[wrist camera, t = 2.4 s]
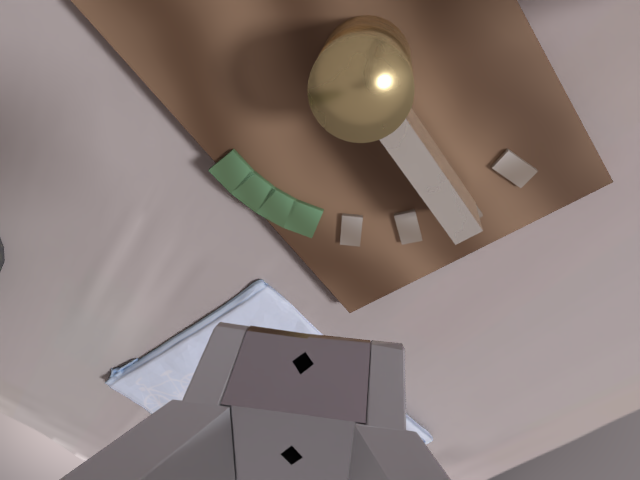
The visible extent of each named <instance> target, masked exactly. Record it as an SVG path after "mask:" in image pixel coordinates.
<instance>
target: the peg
mask: <svg viewBox="0 0 640 480" xmlns="http://www.w3.org/2000/svg"><path fill="white" fill-rule="evenodd" d="M414 89H415V87H414V77H413V68H412V59H411V51H410V47H409V44H408V42H407V40H406V38H405V36H404V35H403V33H402V32H401V31H400V30H399V29H398V28H397V27H396V26H395V25H394V24H393V23H391V22H390V21H388V20H386V19H384V18H381V17H377V16H371V15H363V16H357V17H354V18H351V19H349V20H347V21H345V22H343V23H342V24H340V25H339V26H338V27H337V28H336V29H334V31H333V32H332V33H331V34H330V36H329V37H328V39H327V41H326V43H325V45H324V46H323V48H322V50H321V52H320V54H319V56H318V58H317V59H316V61H315V63H314V65H313V67H312V69H311V72H310V75H309V80H308V89H307V92H308V100H309V105H310V108H311V110H312V112H313V114H314V116H315V118H316V120H317V121H318V122H319V124H320V125H321V126H322V127H323V128H324V129H325V130H326V131H327V132H329V133H330V134H332V135H333V136H335V137H337V138H339V139H342V140H344V141H348V142H353V143H368V142H373V141H377V140H380V141H381V143H382V144H383V146H384V147H385V148H386V150H387V151H388V152H389V154H390V155H391V157H392V158H393V159H394V161H395V162H396V163H397V165H398V166H399V168H400V169H401V170H402V172H403V173H404V175H405V176H406V177H407V179H408V180H409V181H410V183H411V184H412V186H413V187H414V188H415V190H416V191H417V192H418V194H419V195H420V197H421V198H422V199H423V201H424V202H425V203H426V205H427V206H428V208H429V209H430V210H431V212H432V213H433V215H434V216H435V217H436V219H437V220H438V221H439V223H440V224H441V226H442V227H443V228H444V230H445V231H446V232H447V234H448V235H449V237H450V238H451V239H452V241H453V242H454V244H455V245H456V244H458V243H460V242H462V241H464V240H466V239H468V238H470V237H472V236H474V235H476V234H478V233H480V232H482V231H483V229H482V225H481V221H480V218H479V214H478V210H477V207H476V203H475V201H474V199H473V198H472V196H471V195H470V193H469V192H468V191H467V189H466V188H465V186H464V185H463V183H462V182H461V180H460V179H459V177H458V176H457V174H456V173H455V171H454V170H453V168H452V167H451V165H450V164H449V162H448V161H447V159H446V158H445V156H444V155H443V153H442V152H441V151H440V149H439V148H438V146H437V145H436V143H435V142H434V140H433V139H432V137H431V136H430V134H429V133H428V131H427V130H426V128H425V127H424V125H423V124H422V122H421V121H420V119H419V118H418V116H417V115H416V114H415V112H414V111H413V109H412V108H411V107H412V104H413V100H414Z"/></svg>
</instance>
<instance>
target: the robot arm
mask: <svg viewBox="0 0 640 480" xmlns="http://www.w3.org/2000/svg"><path fill="white" fill-rule="evenodd" d="M60 480H451V479H450V478H449V477H448V475H447V474H446V472H445V471H444V470H443V468H442V467H441V465H440V464H439V463H438V461H437V460H436V458H435V457H434V456H433V454H432V453H431V451H430V450H429V449H428V447H427V446H426V444H425V443H424V442H423V440H422V439H421V437H420V436H419V435H418V433H417V432H414V431H408V430H406V395H405V349H404V346H403V344H402V343H392V342H383V341H373V340H372V341H371V343H370V340H362V339H353V338H343V337H334V336H325V335H316V334H306V333H299V332H292V331H285V330H278V329H271V328H264V327H257V326H244V325H238V324H231V323H225V322H219V323H218V325H217V326H216V327H215V328H214V329H213V332H212V334H211V336H210V338H209V341H208V343H207V345H206V347H205V350H204V352H203V354H202V356H201V359H200V361H199V363H198V366H197V368H196V370H195V372H194V375H193V377H192V379H191V381H190V384H189V386H188V388H187V391H186V393H185V395H184V397H183V400H171V401H170V402H168V403H167V404H165V405H164V406H163V407H161V408H160V409H158V410H157V411H156V412H154V413H153V414H151V415H150V416H149V417H147V418H146V419H144V420H143V421H141V422H140V423H139V424H137V425H136V426H134V427H133V428H132V429H130V430H129V431H127V432H126V433H125V434H123V435H122V436H120V437H119V438H118V439H116V440H115V441H113V442H112V443H110V444H109V445H108V446H106V447H105V448H103V449H102V450H101V451H99V452H98V453H96V454H95V455H94V456H92V457H91V458H89V459H88V460H87V461H85V462H84V463H82V464H81V465H79V466H78V467H77V468H75V469H74V470H72V471H71V472H70V473H68V474H67V475H65V476H64V477H63V478H61V479H60Z"/></svg>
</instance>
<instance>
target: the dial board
mask: <svg viewBox="0 0 640 480" xmlns="http://www.w3.org/2000/svg"><path fill="white" fill-rule="evenodd" d="M71 1H72V2H73V4H74V5H75V6H76V7H77V8H78V9H79V10H80V11H81V12H82V14H83V15H84V16H85V17H86V18H87V19H88V20H89V21H90V23H91V24H92V25H93V26H94V27H95V28H96V29H97V30H98V32H99V33H100V34H101V35H102V36H103V37H104V38H105V39H106V40H107V42H108V43H109V44H110V45H111V46H112V47H113V48H114V49H115V51H116V52H117V53H118V54H119V55H120V56H121V57H122V58H123V60H124V61H125V62H126V63H127V64H128V65H129V66H130V67H131V68H132V70H133V71H134V72H135V73H136V74H137V75H138V76H139V77H140V79H141V80H142V81H143V82H144V83H145V84H146V85H147V86H148V88H149V89H150V90H151V91H152V92H153V93H154V94H155V95H156V97H157V98H158V99H159V100H160V101H161V102H162V103H163V104H164V105H165V107H166V108H167V109H168V110H169V111H170V112H171V113H172V114H173V116H174V117H175V118H176V119H177V120H178V121H179V122H180V123H181V125H182V126H183V127H184V128H185V129H186V130H187V131H188V132H189V133H190V135H191V136H192V137H193V138H194V139H195V140H196V141H197V142H198V144H199V145H200V146H201V147H202V148H203V149H204V150H205V151H206V153H207V154H208V155H209V156H210V157H211V158H212V159H213V160H214V161H215V163H216V164H215V165H213V166H212V167H211V168H210V169H209V170H208V171H209V172H210V173H211V174H212V175H213V176H214V177H215V178H216V179H217V180H218V181H219V182H220V183H221V184H222V185H223V186H224V187H225V188H226V189H227V190H228V191H229V192H230V193H231V194H232V195H233V196H235V197H236V198H237V199H238V200H240V201H241V202H242V203H244V204H245V205H246V206H248V207H249V208H250V209H252V210H253V211H254V212H257V214H259V215H261V216H262V217H264V218H265V219H266V220H267V221H268V222H269V223H270V224H271V225H272V226H273V228H274V229H275V230H276V231H277V232H278V233H279V234H280V235H281V237H282V238H283V239H284V240H285V241H286V242H287V243H288V244H289V246H290V247H291V248H292V249H293V250H294V251H295V252H296V253H297V254H298V256H299V257H300V258H301V259H302V260H303V261H304V262H305V263H306V265H307V266H308V267H309V268H310V269H311V270H312V271H313V272H314V274H315V275H316V276H317V277H318V278H319V279H320V280H321V281H322V283H323V284H324V285H325V286H326V287H327V288H328V289H329V290H330V291H331V293H332V294H333V295H334V296H335V297H336V298H337V299H338V300H339V302H340V303H341V304H342V305H343V306H344V307H345V308H346V309H347V311H348V312H349V313H351V312H353V311H355V310H357V309H359V308H361V307H363V306H365V305H367V304H369V303H371V302H373V301H375V300H377V299H379V298H381V297H383V296H385V295H387V294H389V293H391V292H393V291H395V290H397V289H399V288H401V287H403V286H405V285H407V284H409V283H411V282H413V281H415V280H418V279H420V278H422V277H424V276H426V275H428V274H430V273H432V272H434V271H436V270H438V269H440V268H442V267H444V266H446V265H448V264H450V263H452V262H454V261H456V260H458V259H460V258H462V257H464V256H466V255H468V254H470V253H472V252H474V251H476V250H478V249H480V248H482V247H484V246H486V245H488V244H490V243H492V242H494V241H496V240H498V239H500V238H502V237H504V236H506V235H508V234H510V233H512V232H514V231H516V230H518V229H520V228H522V227H524V226H526V225H528V224H530V223H532V222H534V221H536V220H538V219H540V218H542V217H544V216H546V215H548V214H550V213H552V212H554V211H556V210H558V209H560V208H562V207H564V206H566V205H568V204H570V203H572V202H574V201H576V200H578V199H580V198H582V197H584V196H586V195H588V194H590V193H592V192H594V191H596V190H598V189H600V188H602V187H604V186H606V185H608V184H610V183H612V182H613V180H612V179H611V177H610V175H609V173H608V171H607V169H606V167H605V165H604V163H603V162H602V160H601V158H600V156H599V154H598V152H597V150H596V148H595V147H594V145H593V143H592V141H591V139H590V137H589V135H588V133H587V132H586V130H585V128H584V126H583V124H582V122H581V120H580V118H579V116H578V115H577V113H576V111H575V109H574V107H573V105H572V103H571V101H570V100H569V98H568V96H567V94H566V92H565V90H564V88H563V86H562V85H561V83H560V81H559V79H558V77H557V75H556V73H555V71H554V69H553V68H552V66H551V64H550V62H549V60H548V58H547V56H546V54H545V53H544V51H543V49H542V47H541V45H540V43H539V41H538V39H537V38H536V36H535V34H534V32H533V30H532V28H531V26H530V24H529V22H528V21H527V19H526V17H525V15H524V13H523V11H522V9H521V7H520V6H519V4H518V2H517V0H71ZM363 15H371V16H377V17H381V18H384V19H386V20H388V21H390V22H391V23H393V24H394V25H395V26H396V27H397V28H398V29H399V30H400V31H401V32H402V33H403V35H404V36H405V38H406V40H407V42H408V44H409V47H410V51H411V59H412V68H413V77H414V87H415V89H414V100H413V104H412V107H411V108H412V109H413V111H414V112H415V114H416V115H417V116H418V118H419V119H420V121H421V122H422V124H423V125H424V127H425V128H426V130H427V131H428V133H429V134H430V136H431V137H432V139H433V140H434V142H435V143H436V145H437V146H438V148H439V149H440V151H441V152H442V153H443V155H444V156H445V158H446V159H447V161H448V162H449V164H450V165H451V167H452V168H453V170H454V171H455V173H456V174H457V176H458V177H459V179H460V180H461V182H462V183H463V185H464V186H465V188H466V189H467V191H468V192H469V193H470V195H471V196H472V198H473V199H474V201H475V203H476V207H477V210H478V214H479V218H480V221H481V225H482V229H483V231H482V232H480V233H478V234H476V235H474V236H472V237H470V238H468V239H466V240H464V241H462V242H460V243H458V244H456V245H455V244H454V242H453V241H452V239H451V238H450V237H449V235H448V234H447V232H446V231H445V230H444V228H443V227H442V226H441V224H440V223H439V221H438V220H437V219H436V217H435V216H434V215H433V213H432V212H431V210H430V209H429V208H428V206H427V205H426V203H425V202H424V201H423V199H422V198H421V197H420V195H419V194H418V192H417V191H416V190H415V188H414V187H413V186H412V184H411V183H410V181H409V180H408V179H407V177H406V176H405V175H404V173H403V172H402V170H401V169H400V168H399V166H398V165H397V163H396V162H395V161H394V159H393V158H392V157H391V155H390V154H389V152H388V151H387V150H386V148H385V147H384V146H383V144H382V143H381V141H380V140H377V141H373V142H368V143H353V142H348V141H344V140H342V139H339V138H337V137H335V136H333V135H332V134H330V133H329V132H327V131H326V130H325V129H324V128H323V127H322V126H321V125H320V124H319V122H318V121H317V120H316V118H315V116H314V114H313V112H312V110H311V108H310V105H309V100H308V92H307V89H308V80H309V75H310V72H311V69H312V67H313V65H314V63H315V61H316V59H317V58H318V56H319V54H320V52H321V50H322V48H323V46H324V45H325V43H326V41H327V39H328V37H329V36H330V34H331V33H332V32H333V31H334V29H336V28H337V27H338V26H339V25H340V24H342V23H343V22H345V21H347V20H349V19H351V18H354V17H357V16H363Z"/></svg>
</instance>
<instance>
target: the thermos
mask: <svg viewBox="0 0 640 480" xmlns="http://www.w3.org/2000/svg"><path fill="white" fill-rule="evenodd" d="M3 264H4V246H3V244H2V242H1V239H0V271H1V269H2V266H3Z"/></svg>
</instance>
